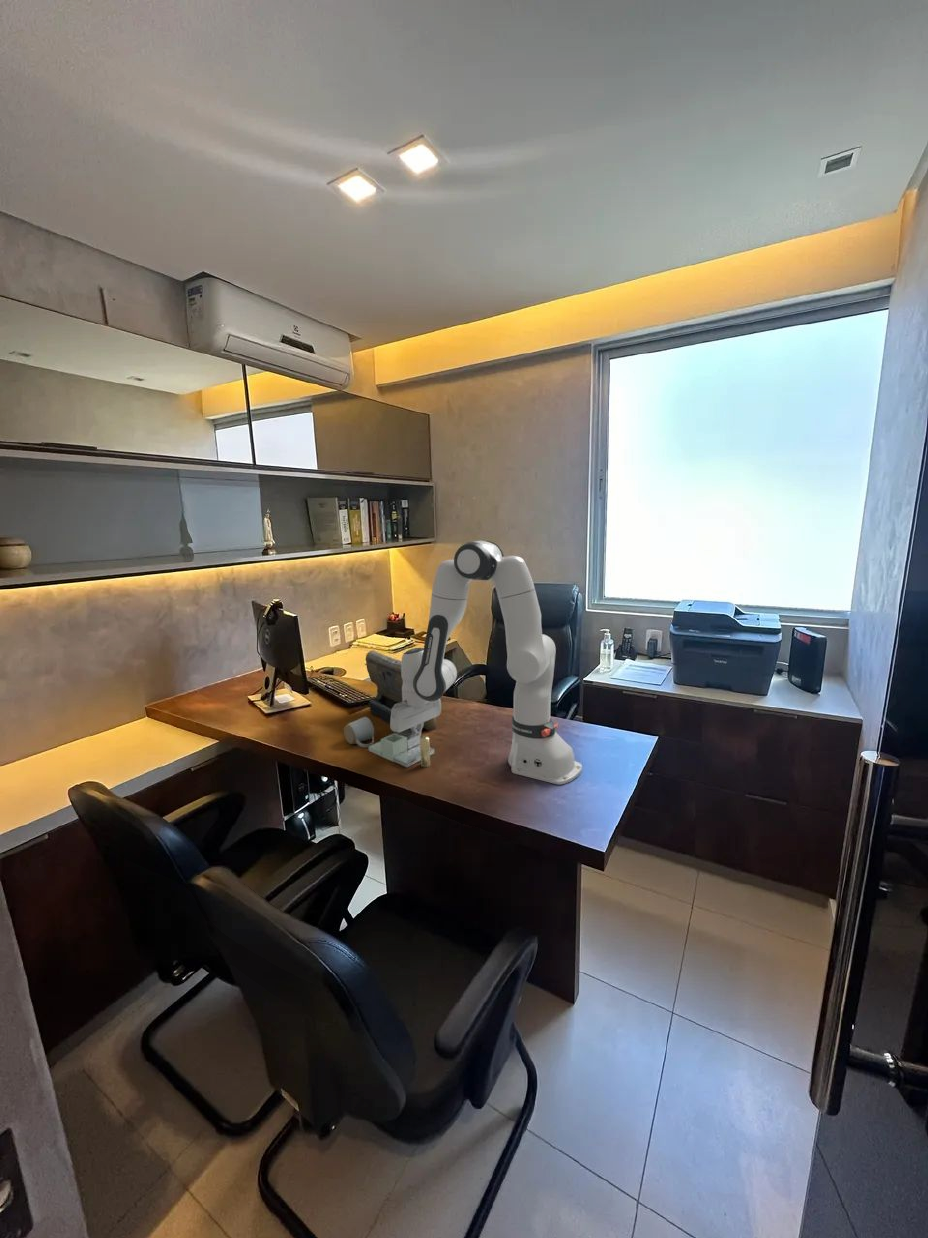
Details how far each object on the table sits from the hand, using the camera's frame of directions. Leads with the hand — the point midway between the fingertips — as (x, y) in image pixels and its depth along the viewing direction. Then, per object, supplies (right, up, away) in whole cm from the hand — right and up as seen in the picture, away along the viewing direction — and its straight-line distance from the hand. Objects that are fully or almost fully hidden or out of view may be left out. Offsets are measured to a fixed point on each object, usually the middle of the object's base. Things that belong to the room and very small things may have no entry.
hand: (417, 736), depth 163 cm
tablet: (-8, +1, +22) cm, 23 cm away
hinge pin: (+4, -6, -13) cm, 15 cm away
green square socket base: (-7, -4, -3) cm, 8 cm away
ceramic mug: (-19, -3, +3) cm, 20 cm away
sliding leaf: (-2, -4, -7) cm, 8 cm away
